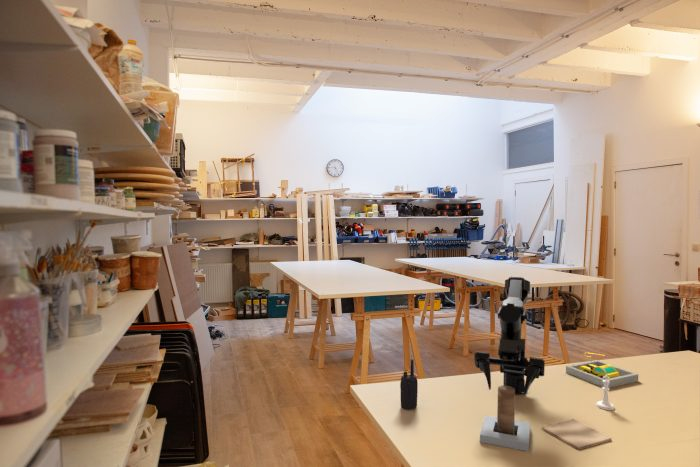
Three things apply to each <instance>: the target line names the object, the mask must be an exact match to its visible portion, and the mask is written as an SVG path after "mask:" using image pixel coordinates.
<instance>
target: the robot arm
mask: <svg viewBox="0 0 700 467" xmlns="http://www.w3.org/2000/svg"><path fill="white" fill-rule="evenodd" d="M504 293H506V299H504V300H502V303H501V306H499V308H498V311H497V312H498V313H497V318H498V319H499V326H500V330H501V331H500V338H499V343H498V351H497V354H498V357H494V356H493V357H492V356H490V352H489V351H481V350H477V351H475V353H474V358H473V359H474V365H475V368H477V369H479V370H480V371H481V372H483V373H484V376H485V379H486V383H487V386H488V390H489V391H490V390H491V389H492V377H491V376H492V375H491V365H495V366H499V367H500V368H499V373H501V374H503V385H502V386H510V387H513V388H514V389H515V396H516V395H520V394H521V395H522V394H523V395H524V396H526V395H527V394H528V391H529V389H530V387H531V385H532V384H533V383H534V381H535V379H539V378H540V377H544V376H545V366H546V365H545V359H544V358H541V357H532V356H529V360H528V357H526V339H525V338H522V332H523V330H522V329H523V324H524V322H525V321H527V320H528V318H529V317H528V316H529V314H528V312H527V309H526V308H525V307H524V306H525V304H526V303H527V302H528V300H529V295H530V294H531V281H529V280H527V279H525V278H524V277H523V276H512V275H511V276H510V277H508V278H507V279H504ZM525 377H526V378H525Z"/></svg>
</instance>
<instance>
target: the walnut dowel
mask: <svg viewBox="0 0 700 467" xmlns="http://www.w3.org/2000/svg"><path fill="white" fill-rule="evenodd" d="M515 410H516V395H515V389H514V388H513V387H510V386H503V385H499V386H498V387H497V412H496V414H497V429H496V432H498V433H503V434H509V435H515V432H514V423H515V421H516V418H515V416H516V411H515Z"/></svg>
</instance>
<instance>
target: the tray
mask: <svg viewBox="0 0 700 467" xmlns="http://www.w3.org/2000/svg"><path fill="white" fill-rule="evenodd" d="M589 364H593V365H596V366H598V367H599V366H603V365H612V366H613V367H614V368H615V369H616V371H617V372H618V373H619V377H615V378H610V379H607V380H608V381H610V383H609V386H608V388H609V389H610V388H615V387H618V386H622V385H628V384H632V383H636V382H639V373H636V372H633V371H630V370H628V369H624V368H621V367H619V366H615V365H613V364H611V363H608V362H604V361H600V360H598V359H595V360H590V361H585V362H579V363H575V364H570V365H565V374H568V375H571V376H573V377H575V378H578V379H581V380H584V381H586V382H588V383H591V384H593V385H596V386H598V387H601V388H602V387H604V385H603V382H602V381H603V380H605V379H602V378H600V377H597V376H595V375H592V374H589V373H587V372H584V371H581V370H579V369H578V368H579V367H580V366H584V365H589Z"/></svg>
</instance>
